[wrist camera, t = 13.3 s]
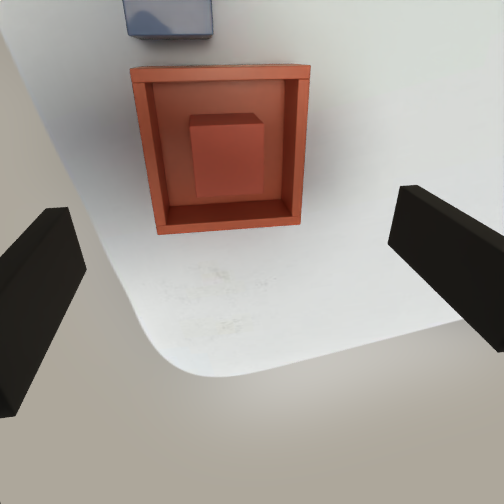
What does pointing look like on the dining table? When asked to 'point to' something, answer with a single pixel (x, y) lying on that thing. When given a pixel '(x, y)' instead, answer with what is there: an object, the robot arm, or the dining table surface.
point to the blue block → (169, 19)
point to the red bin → (222, 102)
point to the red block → (227, 154)
